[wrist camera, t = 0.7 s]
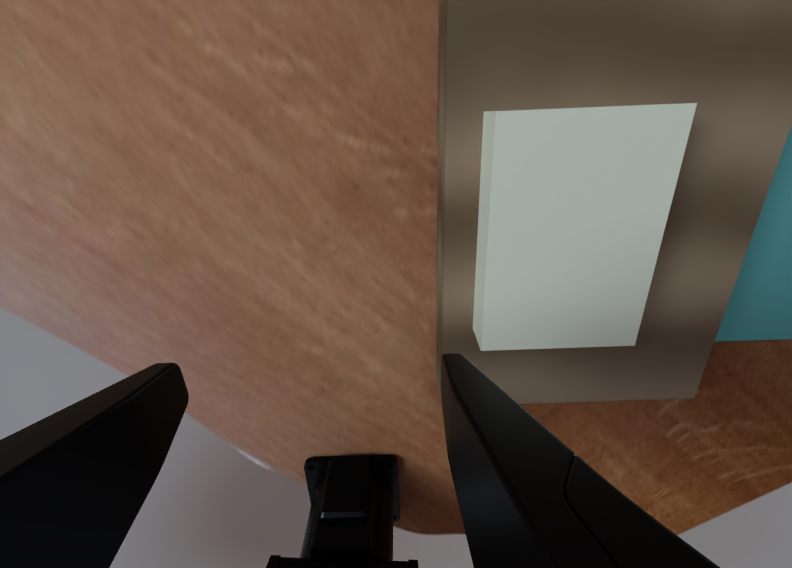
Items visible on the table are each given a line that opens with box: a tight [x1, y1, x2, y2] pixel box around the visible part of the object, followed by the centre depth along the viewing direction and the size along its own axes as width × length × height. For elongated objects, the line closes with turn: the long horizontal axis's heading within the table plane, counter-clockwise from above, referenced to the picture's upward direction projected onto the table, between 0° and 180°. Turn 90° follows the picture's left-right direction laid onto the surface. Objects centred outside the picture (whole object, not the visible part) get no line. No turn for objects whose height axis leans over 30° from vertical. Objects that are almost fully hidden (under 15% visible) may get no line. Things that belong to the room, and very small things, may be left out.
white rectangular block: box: [473, 103, 697, 351], centre depth 16 cm, size 10×7×2 cm
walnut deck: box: [437, 0, 792, 404], centre depth 19 cm, size 20×14×3 cm
